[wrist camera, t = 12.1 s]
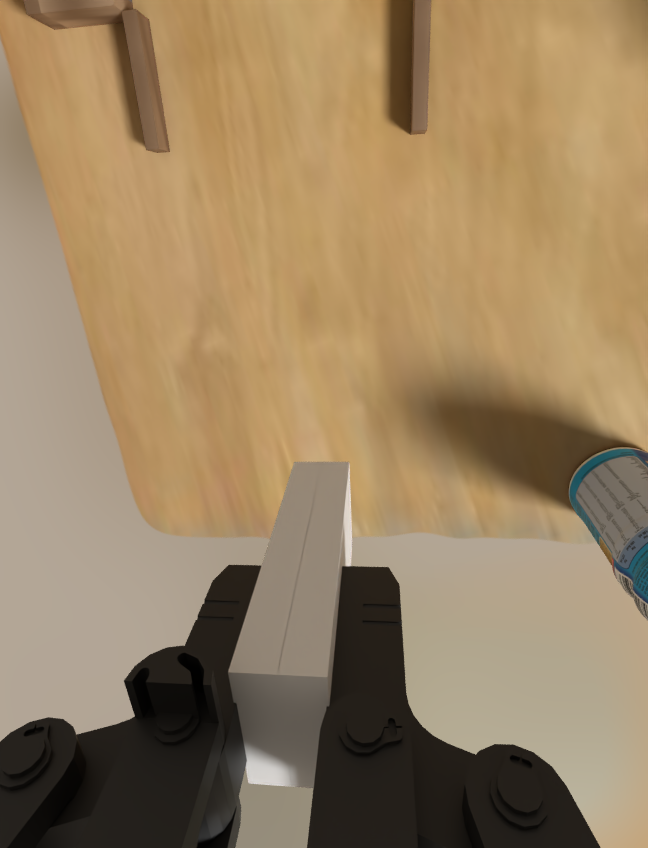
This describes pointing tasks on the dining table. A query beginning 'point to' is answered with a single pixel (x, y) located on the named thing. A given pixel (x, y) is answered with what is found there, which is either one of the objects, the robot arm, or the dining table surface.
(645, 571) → the beverage bottle
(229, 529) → the dining table surface
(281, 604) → the robot arm
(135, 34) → the wooden tray
